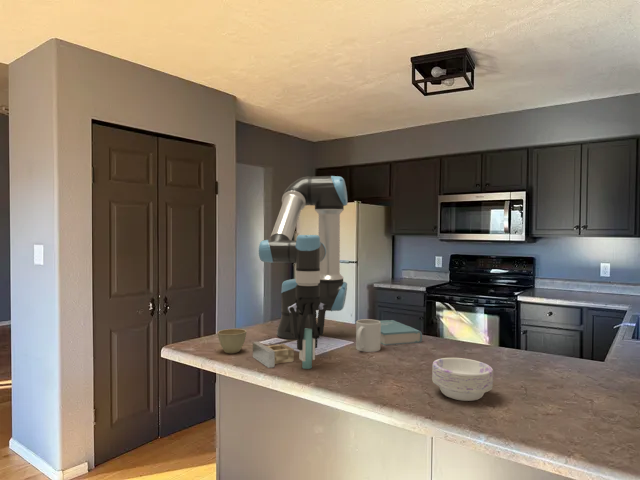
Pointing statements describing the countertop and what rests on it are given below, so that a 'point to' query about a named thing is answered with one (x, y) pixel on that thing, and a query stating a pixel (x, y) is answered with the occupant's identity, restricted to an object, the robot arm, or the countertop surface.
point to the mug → (368, 335)
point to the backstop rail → (264, 354)
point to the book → (398, 333)
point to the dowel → (308, 349)
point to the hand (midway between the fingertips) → (307, 359)
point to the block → (282, 353)
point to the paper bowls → (462, 378)
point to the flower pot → (232, 339)
